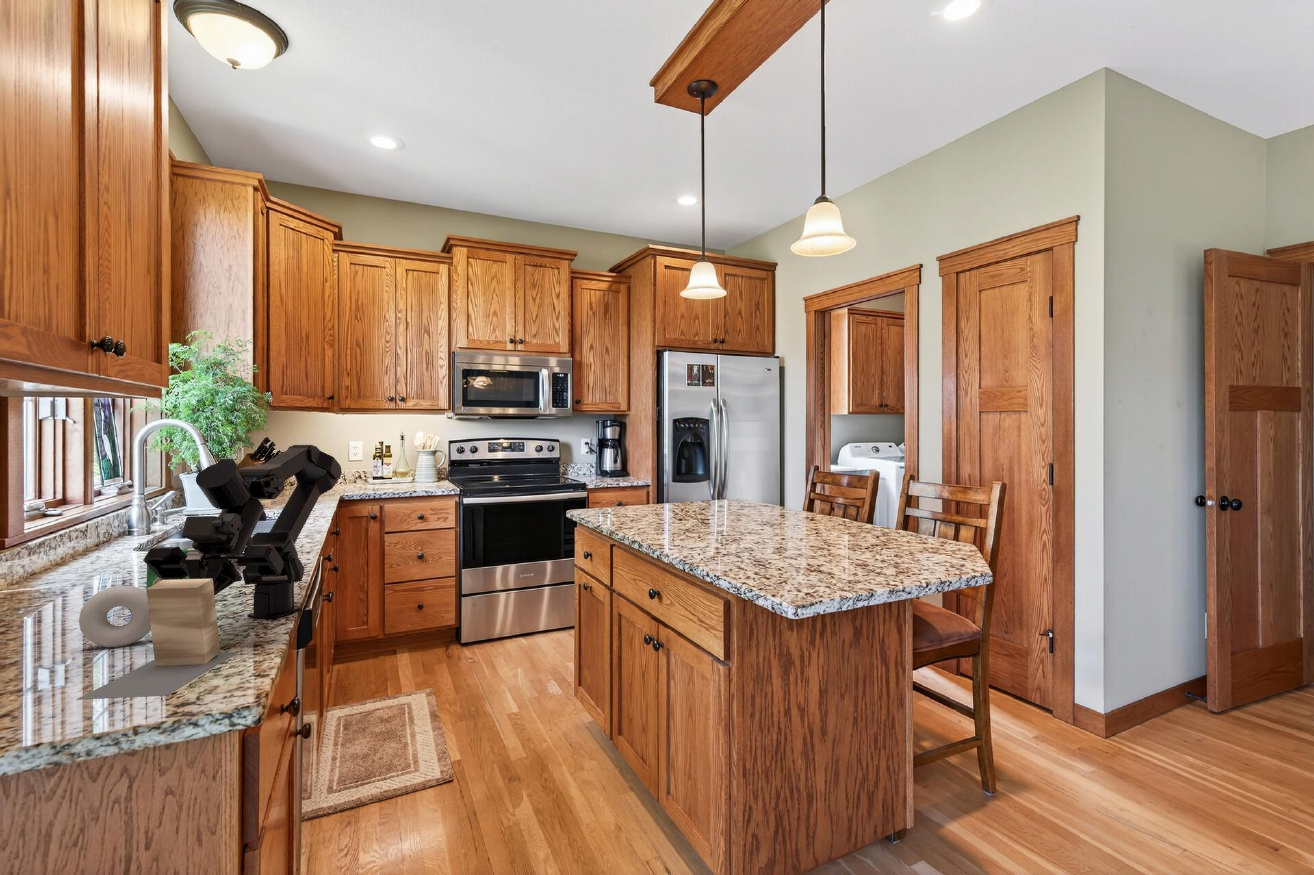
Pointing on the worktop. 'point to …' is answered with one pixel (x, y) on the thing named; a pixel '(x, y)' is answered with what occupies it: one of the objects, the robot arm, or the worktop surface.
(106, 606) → the donut
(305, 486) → the robot arm
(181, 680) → the rubber mat
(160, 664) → the birch block
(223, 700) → the worktop surface
